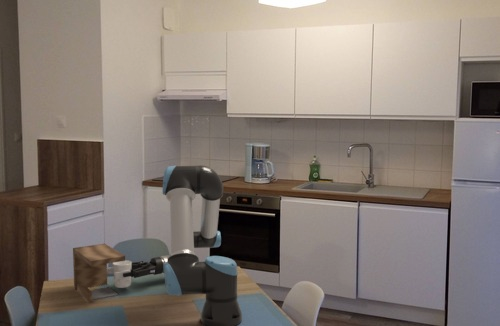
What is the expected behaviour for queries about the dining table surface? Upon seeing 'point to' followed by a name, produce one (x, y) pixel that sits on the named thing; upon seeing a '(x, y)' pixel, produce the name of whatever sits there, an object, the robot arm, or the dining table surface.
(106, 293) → the felt pad
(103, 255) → the walnut shelf
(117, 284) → the white cup
